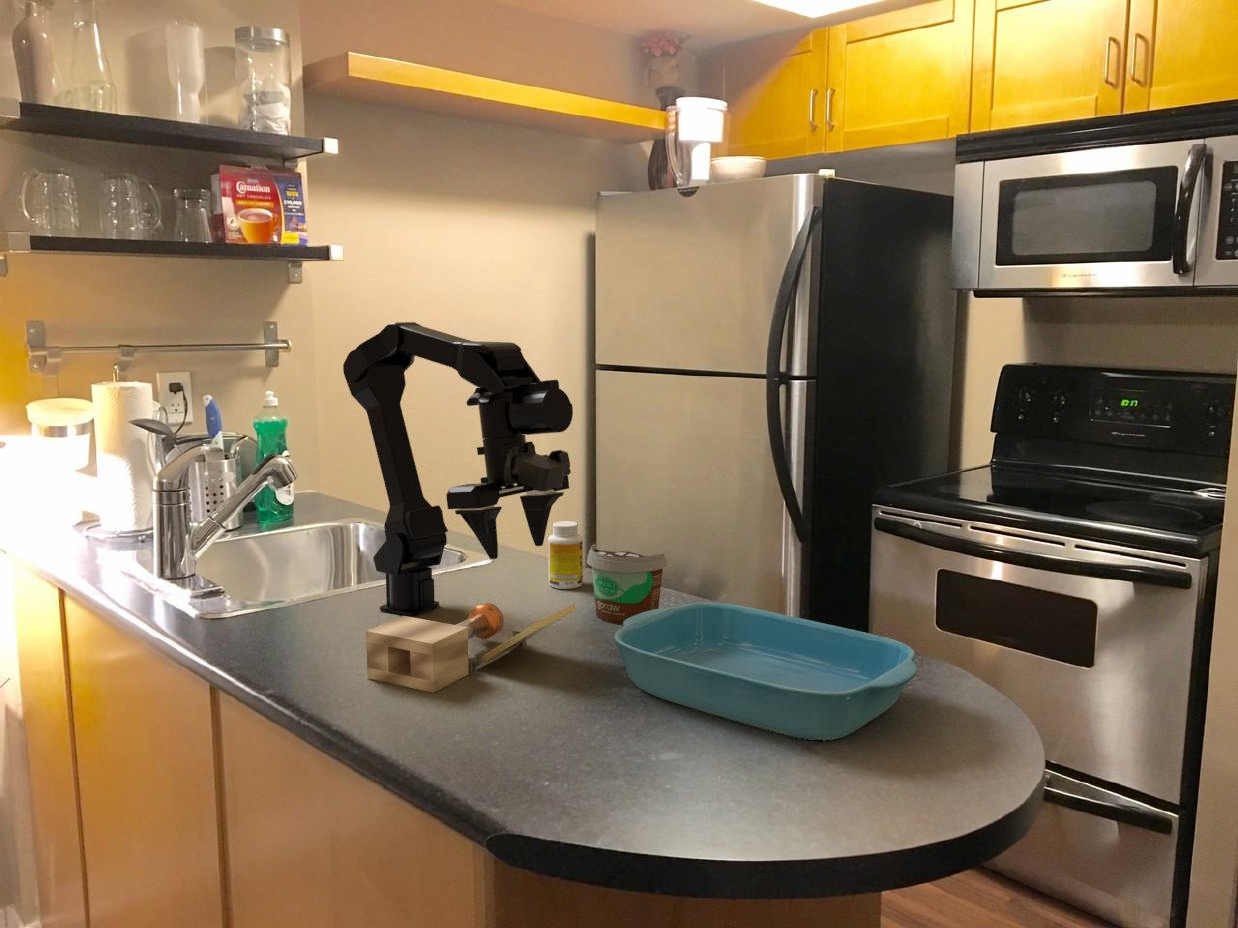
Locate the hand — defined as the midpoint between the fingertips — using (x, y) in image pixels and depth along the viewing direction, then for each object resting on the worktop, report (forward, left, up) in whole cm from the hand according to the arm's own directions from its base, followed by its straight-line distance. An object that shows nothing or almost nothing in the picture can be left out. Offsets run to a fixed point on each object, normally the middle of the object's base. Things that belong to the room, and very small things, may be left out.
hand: (517, 552), depth 142 cm
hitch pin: (-3, -9, -11) cm, 15 cm away
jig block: (-3, -18, -12) cm, 22 cm away
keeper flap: (+6, -8, -9) cm, 13 cm away
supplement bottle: (-8, +26, -12) cm, 30 cm away
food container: (+8, +14, -12) cm, 20 cm away
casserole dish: (+36, -4, -13) cm, 39 cm away
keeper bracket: (+2, -8, -12) cm, 15 cm away
